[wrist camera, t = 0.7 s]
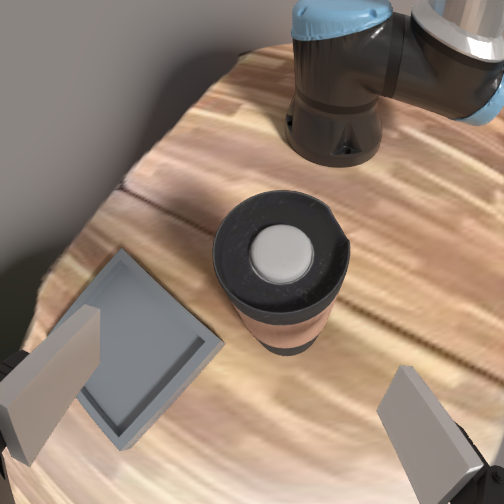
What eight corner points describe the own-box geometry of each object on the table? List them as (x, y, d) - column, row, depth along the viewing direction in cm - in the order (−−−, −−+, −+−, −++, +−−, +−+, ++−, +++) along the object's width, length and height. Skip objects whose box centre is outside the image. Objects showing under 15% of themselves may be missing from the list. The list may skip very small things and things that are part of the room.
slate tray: (129, 255, 41) (121, 247, 39) (225, 343, 35) (221, 340, 32) (52, 348, 36) (41, 344, 34) (130, 448, 30) (119, 451, 28)
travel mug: (242, 343, 34) (185, 285, 16) (268, 283, 37) (244, 174, 19) (306, 368, 32) (325, 340, 14) (330, 305, 35) (367, 210, 17)
